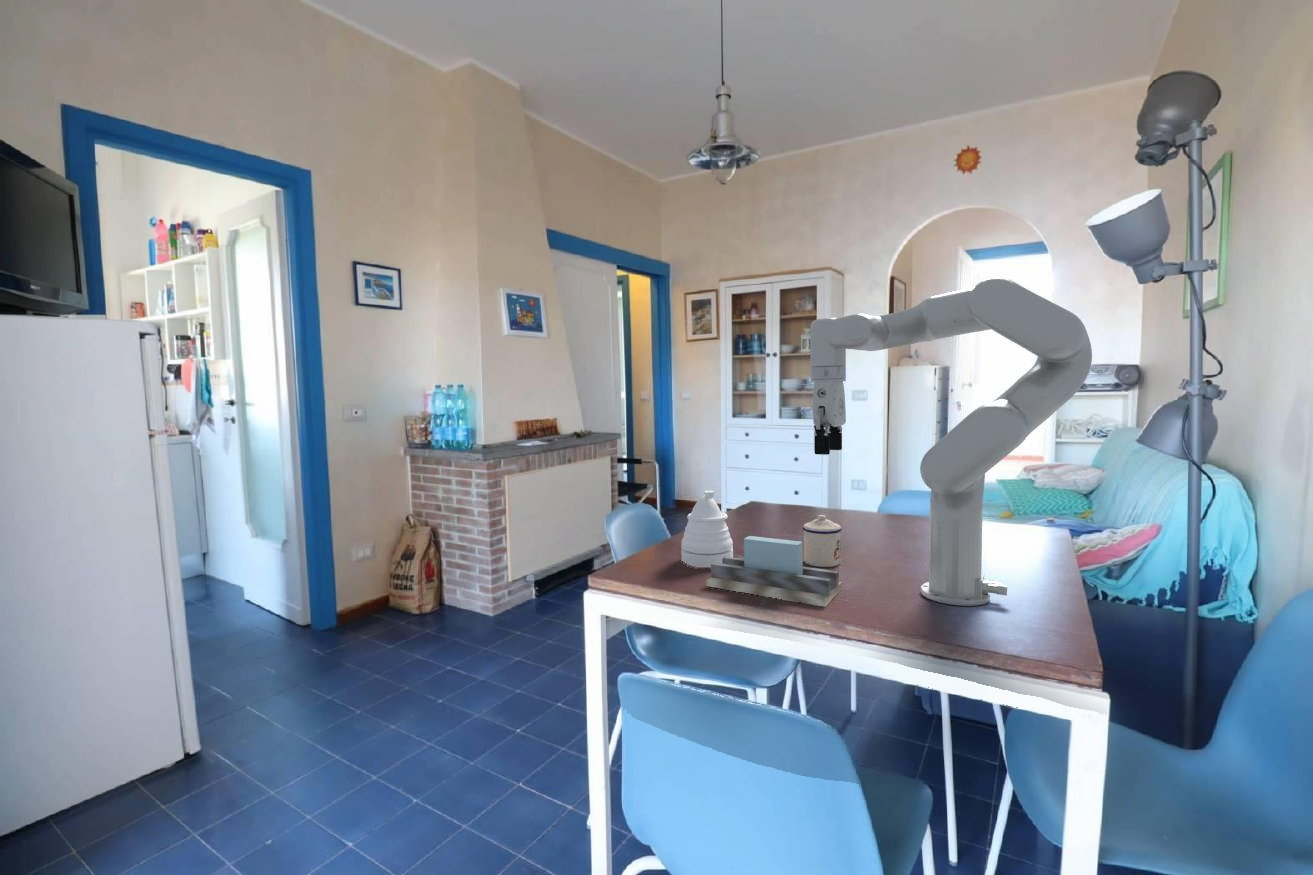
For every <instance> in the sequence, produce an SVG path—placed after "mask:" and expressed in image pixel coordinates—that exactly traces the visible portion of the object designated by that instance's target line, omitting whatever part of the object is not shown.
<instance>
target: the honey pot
mask: <svg viewBox="0 0 1313 875" xmlns="http://www.w3.org/2000/svg"><path fill="white" fill-rule="evenodd" d="M703 493H704V495H702V496H700V498H699V499H698V500H697V501H696V503H695V504H694V506H693V508H692V510H691V513H688V515H686V516H687V520H688V521H687V523H686V526H685V528H684V530H685V531H684V533H683V538H682V539H681V545H680V547H681V552H680V553H681V562H682V561H683V562H685V563H687V564H689V565H692V566H696V567H711V564H712V563H721V564H722V558H723V557H725V556H727V557H734V549H733V547H734V546H733V544H734V542H733V539H732V538H731V533H730V532H729V527H728V525H727V523H726V521H725V520H727V519H728V517H729V516H728V514H727V513H726V512H722V511H721V509H720V507H719V505H718V504H717V502H716V501H715V499H713V498H714V497H715V494H716V493H715V490H704V492H703Z"/></svg>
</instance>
